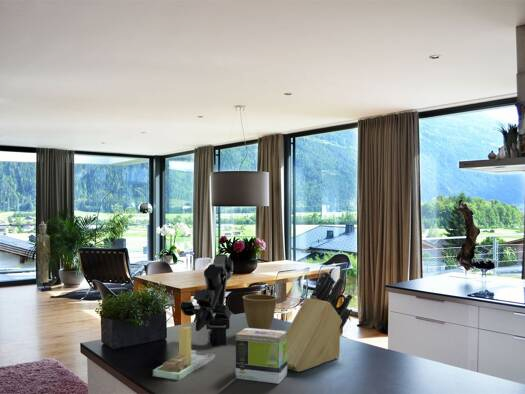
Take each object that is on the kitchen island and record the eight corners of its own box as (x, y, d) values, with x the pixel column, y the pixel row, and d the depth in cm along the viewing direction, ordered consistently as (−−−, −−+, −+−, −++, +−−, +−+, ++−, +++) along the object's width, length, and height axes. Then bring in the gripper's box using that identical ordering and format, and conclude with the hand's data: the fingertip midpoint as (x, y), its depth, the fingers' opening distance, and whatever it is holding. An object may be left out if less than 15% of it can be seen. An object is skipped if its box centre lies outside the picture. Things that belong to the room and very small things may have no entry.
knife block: (354, 353, 191) (355, 272, 192) (295, 375, 166) (296, 282, 166) (330, 347, 199) (331, 269, 200) (270, 367, 174) (271, 278, 174)
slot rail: (190, 357, 184) (190, 349, 184) (215, 360, 180) (215, 353, 180) (168, 370, 170) (168, 362, 170) (194, 374, 166) (194, 366, 166)
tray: (168, 370, 170) (168, 361, 170) (193, 374, 166) (193, 365, 166) (152, 379, 161) (152, 370, 161) (178, 383, 157) (178, 374, 157)
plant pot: (276, 338, 211) (277, 300, 211) (241, 337, 211) (241, 299, 211) (276, 329, 226) (276, 294, 226) (243, 329, 226) (243, 293, 226)
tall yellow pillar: (180, 363, 172) (181, 325, 173) (193, 365, 171) (193, 326, 171) (175, 366, 169) (175, 328, 169) (187, 368, 167) (188, 329, 167)
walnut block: (169, 371, 165) (169, 359, 165) (180, 373, 164) (180, 360, 164) (163, 375, 161) (163, 362, 161) (173, 376, 160) (174, 364, 160)
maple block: (176, 367, 169) (176, 355, 169) (186, 369, 167) (186, 357, 167) (169, 371, 165) (169, 359, 165) (180, 373, 164) (180, 360, 164)
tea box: (287, 374, 167) (288, 330, 167) (278, 385, 157) (279, 337, 157) (245, 369, 172) (246, 326, 172) (234, 379, 162) (234, 333, 162)
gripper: (182, 279, 187) (165, 315, 176) (227, 283, 180) (213, 320, 169) (192, 296, 194) (177, 332, 184) (236, 300, 187) (223, 338, 177)
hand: (197, 330), depth 178 cm, fingers closed
